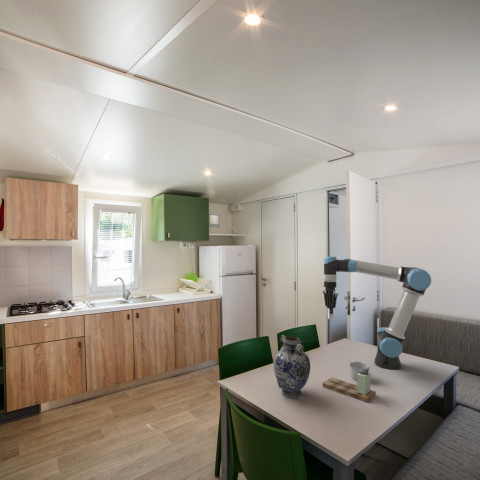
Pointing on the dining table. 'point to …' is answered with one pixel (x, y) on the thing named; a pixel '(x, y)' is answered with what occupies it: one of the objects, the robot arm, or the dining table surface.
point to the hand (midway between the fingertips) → (330, 318)
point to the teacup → (357, 368)
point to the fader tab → (363, 381)
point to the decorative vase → (291, 367)
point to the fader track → (348, 389)
